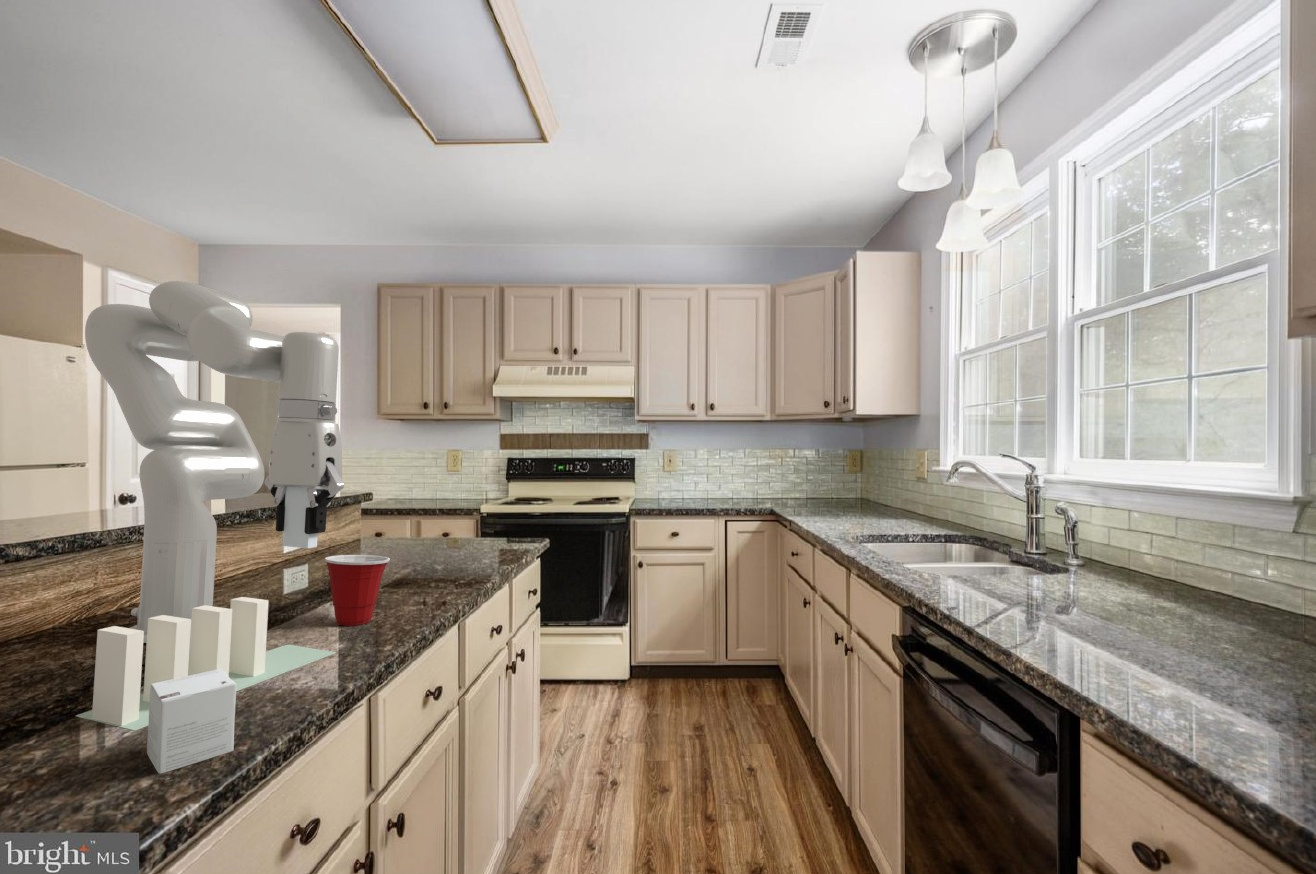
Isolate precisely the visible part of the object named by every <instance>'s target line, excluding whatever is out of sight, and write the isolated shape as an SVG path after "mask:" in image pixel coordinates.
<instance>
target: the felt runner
mask: <svg viewBox="0 0 1316 874" xmlns="http://www.w3.org/2000/svg"><path fill="white" fill-rule="evenodd" d="M335 654H337V652H336V651H330V650H325V649H318V648H311V647H307V646H306V647H305V646H301V645H300V646H299V645H293V644H285V645H282V646H279V647H276V648H275V647H274V648H272V649H270V650H266V657H265V673H262V674H259V675H257V676H254V677H253V676H247V675H242V674H237V673H231V672H229V678H230V679H231V680H233V681H234V682H235V683H236V692H239V691H241V690H244V689H246V688H249V687H252V686H254V685H257V684H259V683H262V682H264V681H267V680H270V679H272V678H275V677H277V676H280V675H282V674H285V673H288V672H291V671H293V670H296V669H299V668H301V667H303V666H305V665H308V664H312V663H313V662H316V661H319V660H321V659H324V658H327V657H329V656H331V655H335ZM143 694H144V692H140V703H139V719H138V720H136V721H133V722H130V723H128V724H125V725H122V726H121V725H117V724H112V723H108V722H104V721H100V720H96V719H92V709H91V710H88V711H86V712H82V713H78V714H77V715H75V717H76V718H77V717H78V718H81V719H85V720H90V721H94V722H98V723H101V724H106V725H109V726H115V727H118V728H122V729H124V730H125V729H126V730H130V731H133V732H134V731H135V732H136V731H138V730H140V729H143V728H146V727H148V723H149V702H147V701H143Z"/></svg>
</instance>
